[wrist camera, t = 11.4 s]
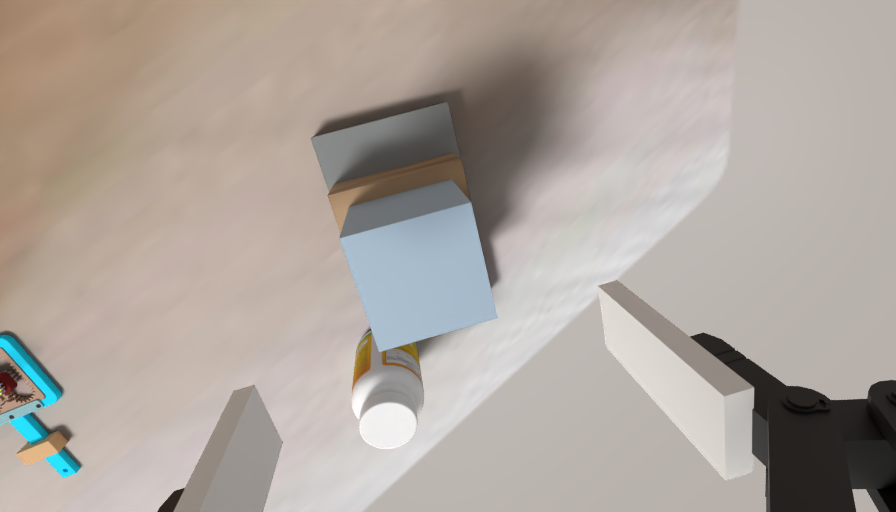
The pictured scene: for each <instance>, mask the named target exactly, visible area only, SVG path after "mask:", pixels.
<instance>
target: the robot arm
mask: <svg viewBox="0 0 896 512" xmlns="http://www.w3.org/2000/svg"><path fill="white" fill-rule="evenodd" d="M598 290H599V298H600V305H601V313H602V320H603V327H604V336H605V343H606V347H607V349H608V350H609V351H610V352H611V353H612V354H613V355H614V356H615V358H616V359H617V360H618V361H619V362H620V363H621V364H622V365H623V366H624V367H625V369H626V370H627V371H628V372H629V373H630V374H631V375H632V376H633V378H634V379H635V380H636V381H637V382H638V383H639V384H640V385H641V387H642V388H643V389H644V390H645V391H646V392H647V393H648V394H649V396H650V397H651V398H652V399H653V400H654V401H655V402H656V403H657V404H658V406H659V407H660V408H661V409H662V410H663V411H664V412H665V413H666V414H667V416H668V417H669V418H670V419H671V420H672V421H673V422H674V423H675V425H677V427H678V428H679V429H680V430H681V431H682V432H683V433H684V435H685V436H686V437H687V438H688V439H689V440H690V441H691V442H692V443H693V445H694V446H695V447H696V448H697V449H698V450H699V451H700V452H701V453H702V455H703V456H704V457H705V458H706V459H707V460H708V461H709V462H710V464H711V465H712V466H713V467H714V468H715V469H716V470H717V471H718V473H719V474H720V475H721V476H722V477H723V478H724V479H725V480H730V479H733V478H736V477H739V476H742V475H745V474H749V473H752V472H753V455H755V456H756V457H757V458H758V459H759V460H760V461H761V462H762V463H763V464H764V465H765V466H766V493H765V494H766V495H765V496H766V512H856V508H855V503H854V497H853V492H852V489H866V490H867V492H868V493H869V495H870V497H871V498H872V500H873V502H874V504H875V506H876V507H877V509H878V511H879V512H896V381H894V380H889V381H880V382H877V383H875V384H873V385H871V387H870V389H869V391H868V399H854V400H830V399H829V398H827V397H826V396H825V395H823V394H821V393H819V392H817V391H814V390H812V389H808V388H803V387H799V386H786V385H784V384H783V383H782V382H780V381H779V380H778V379H776V378H775V377H773V376H772V375H770V374H769V373H767V372H766V371H765V370H763V369H762V368H761V367H759V366H758V365H757V364H755V363H754V362H752V361H751V360H750V359H746V357H745V356H744V355H743V354H741V353H740V352H738V351H735V349H734V348H733V347H731V346H730V345H729V344H727V343H726V342H724V341H723V340H722V339H719V338H716V337H714V336H711V335H708V334H706V333H701V334H697V335H694V336H691V337H689V336H688V335H686V334H685V333H684V332H683V331H681V330H680V329H679V328H678V327H676V326H675V325H674V324H672V323H671V322H670V321H669V320H667V319H666V318H664V317H663V316H662V315H661V314H660V313H658V312H657V311H656V310H654V309H653V308H652V307H651V306H649V305H648V304H647V303H646V302H644V301H643V300H642V299H640V298H639V297H638V296H637V295H635V294H634V293H633V292H631V291H630V290H628V288H626V287H625V286H624V285H623V284H621V283H620V282H619V281H613V282H610V283H606V284H603V285H599V286H598ZM282 443H283V442H282V440H281V438H280V436H279V434H278V432H277V430H276V428H275V426H274V424H273V422H272V420H271V418H270V416H269V414H268V411H267V409H266V407H265V405H264V403H263V401H262V399H261V397H260V395H259V393H258V391H257V389H256V387H255V385H253V386H249V387H246V388H242V389H239V390H235V391H233V393H232V395H231V397H230V399H229V401H228V403H227V405H226V407H225V409H224V411H223V413H222V415H221V417H220V419H219V421H218V423H217V425H216V427H215V429H214V431H213V433H212V435H211V437H210V439H209V441H208V443H207V445H206V447H205V449H204V451H203V453H202V455H201V457H200V459H199V461H198V463H197V465H196V467H195V469H194V471H193V473H192V475H191V477H190V479H189V481H188V483H187V485H186V487H185V488H183V489H180V490H176V491H174V492H173V493H172V494H171V496H170V497H169V498H168V499H167V500H166V501H165V502H164V503H163V505H162V506H161V507H160V508H159V510H158V512H263V510H264V506H265V503H266V499H267V496H268V492H269V489H270V485H271V482H272V478H273V475H274V471H275V468H276V464H277V461H278V457H279V453H280V450H281V446H282Z"/></svg>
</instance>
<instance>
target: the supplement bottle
mask: <svg viewBox="0 0 896 512" xmlns="http://www.w3.org/2000/svg"><path fill="white" fill-rule="evenodd" d="M423 403H424V390H423V384H422V377H421V371H420V364H419V357H418V350H417V345H416V343H415V342H413V343H409V344H406V345H402V346H399V347H395V348H392V349H388V350H385V351H381V352H379V350H378V347H377V345H376V342H375V339H374V336H373V333H372V330H371V331H369V332H368V333H366V334H365V335H364V336H363V337H362V339H361V340H360V342H359V344H358V346H357V350H356V356H355V367H354V377H353V387H352V408H353V411H354V413H355V415H356V417H357V418H358V419H359V430H360V433H361V436H362V437H363V439H364V440H365V441H366V442H367V443H368V444H370V445H371V446H374V447H376V448H381V449H392V448H396V447H399V446H401V445H403V444H405V443H406V442H408V441H409V440H410V439H411V438H412V437H413V435H414V434H415V432H416V430H417V424H418V421H417V416H418V415H419V413H420V412H421V410H422V407H423Z"/></svg>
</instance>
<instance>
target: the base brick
mask: <svg viewBox="0 0 896 512" xmlns="http://www.w3.org/2000/svg"><path fill="white" fill-rule="evenodd" d="M450 179H452V180H453V181H454V183H455V184H456V185H457V186H458V187H459V189H460V190H461V191H462V192H463V193H464V194H465V196H466V197H467V198H468V199H469V200H470V202H471V199H470V195H469V191H468V186H467V182H466V177H465V173H464V169H463V164H462V160H461V159H460V158H459V157H457V156H456V155H455V154H454V153H449V154H445V155H442V156H438V157H434V158H430V159H427V160H423V161H419V162H415V163H412V164H408V165H404V166H400V167H397V168H393V169H389V170H385V171H382V172H378V173H374V174H371V175H367V176H363V177H359V178H356V179H352V180H348V181H344V182H341V183H337V184H334V185H333V187H332V189H331V190H330V192H329V194H328V198H329V201H330V204H331V207H332V210H333V213H334V216H335V219H336V221H337V224H338V227H339V230H340V233H341V231H342V228H343V224H344V221H345V218H346V215H347V211H348V208H349V207H350V206H354V205H358V204H361V203H365V202H369V201H372V200H376V199H380V198H383V197H387V196H391V195H394V194H398V193H402V192H405V191H409V190H413V189H417V188H420V187H424V186H428V185H431V184H435V183H439V182H442V181H446V180H450ZM473 213H474V212H473ZM475 222H476V221H475ZM478 235H479V234H478ZM481 248H482V247H481Z"/></svg>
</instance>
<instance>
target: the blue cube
mask: <svg viewBox="0 0 896 512" xmlns="http://www.w3.org/2000/svg"><path fill="white" fill-rule="evenodd" d="M339 239H340V242H341V245H342V248H343V251H344V253H345V256H346V259H347V262H348V265H349V268H350V270H351V273H352V276H353V279H354V282H355V285H356V288H357V290H358V293H359V296H360V299H361V302H362V305H363V307H364V310H365V313H366V316H367V319H368V322H369V325H370V327H371V330H372V333H373V336H374V339H375V342H376V345H377V347H378V350H379V352H381V351H385V350H388V349H392V348H395V347H399V346H402V345H406V344H409V343H413V342H416V341H420V340H423V339H427V338H430V337H434V336H437V335H440V334H444V333H447V332H451V331H454V330H458V329H461V328H465V327H468V326H472V325H475V324H479V323H482V322H486V321H489V320H493V319H496V318H498V317H497V313H496V309H495V304H494V300H493V296H492V291H491V287H490V283H489V278H488V274H487V269H486V265H485V261H484V256H483V252H482V248H481V243H480V239H479V235H478V230H477V226H476V222H475V217H474V213H473V208H472V204H471V202H470V200H469V199H468V198H467V197H466V196H465V194H464V193H463V192H462V191H461V190H460V189H459V187H458V186H457V185H456V184H455V183H454V181H453V180H452V179H450V180H446V181H442V182H439V183H435V184H431V185H428V186H424V187H420V188H417V189H413V190H409V191H405V192H402V193H398V194H394V195H391V196H387V197H383V198H380V199H376V200H372V201H369V202H365V203H361V204H358V205H354V206H350V207H349V208H348V211H347V215H346V218H345V221H344V224H343V228H342V231H341V234H340V238H339Z"/></svg>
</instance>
